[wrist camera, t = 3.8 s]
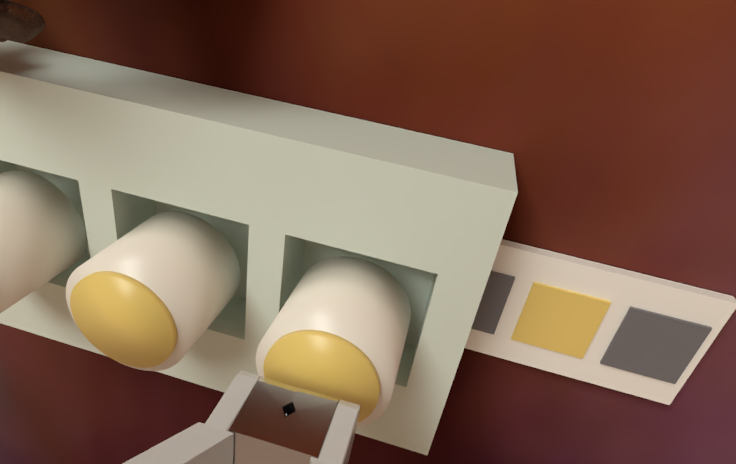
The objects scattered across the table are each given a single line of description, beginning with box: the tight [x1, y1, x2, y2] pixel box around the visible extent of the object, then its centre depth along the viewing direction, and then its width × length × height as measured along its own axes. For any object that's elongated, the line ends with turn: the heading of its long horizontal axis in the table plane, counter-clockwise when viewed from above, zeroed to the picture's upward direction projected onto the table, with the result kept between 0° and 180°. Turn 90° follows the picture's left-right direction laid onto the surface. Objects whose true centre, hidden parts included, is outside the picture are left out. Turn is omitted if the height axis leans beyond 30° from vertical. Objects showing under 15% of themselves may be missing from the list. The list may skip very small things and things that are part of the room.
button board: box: [0, 40, 518, 455], centre depth 16 cm, size 18×10×3 cm, turn 80°
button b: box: [66, 211, 241, 371], centre depth 14 cm, size 4×4×3 cm
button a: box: [256, 256, 411, 427], centre depth 13 cm, size 4×4×3 cm
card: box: [465, 239, 736, 405], centre depth 16 cm, size 9×4×1 cm, turn 80°
